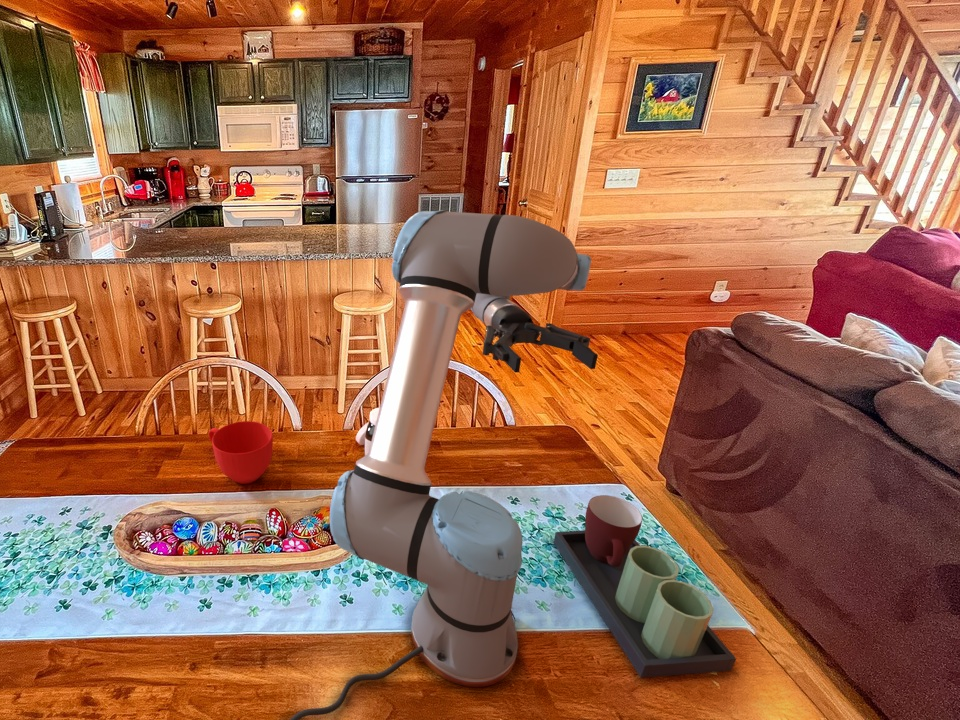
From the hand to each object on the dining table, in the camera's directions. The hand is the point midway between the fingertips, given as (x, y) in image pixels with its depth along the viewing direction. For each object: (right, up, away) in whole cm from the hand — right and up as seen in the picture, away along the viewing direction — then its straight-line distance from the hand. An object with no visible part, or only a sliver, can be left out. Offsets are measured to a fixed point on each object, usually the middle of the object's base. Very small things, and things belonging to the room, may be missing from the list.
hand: (556, 363), depth 88 cm
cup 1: (+9, -39, -8) cm, 40 cm away
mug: (+9, -34, 0) cm, 36 cm away
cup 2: (+9, -41, -14) cm, 45 cm away
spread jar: (-28, -22, +31) cm, 47 cm away
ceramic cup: (-59, -25, +26) cm, 69 cm away
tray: (+9, -38, -6) cm, 39 cm away
